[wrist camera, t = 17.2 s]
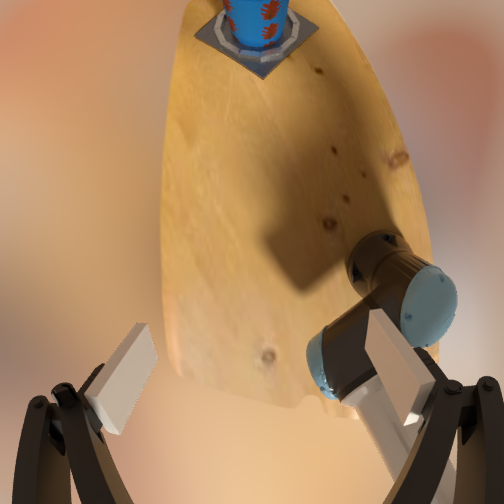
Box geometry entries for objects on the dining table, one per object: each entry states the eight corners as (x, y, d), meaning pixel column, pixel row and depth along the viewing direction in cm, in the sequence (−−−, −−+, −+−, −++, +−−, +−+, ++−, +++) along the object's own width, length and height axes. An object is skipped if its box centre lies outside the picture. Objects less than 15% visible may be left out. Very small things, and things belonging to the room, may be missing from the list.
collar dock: (318, 29, 40) (320, 24, 38) (263, 80, 44) (263, 75, 42) (251, -9, 37) (251, -15, 35) (195, 37, 42) (192, 32, 39)
